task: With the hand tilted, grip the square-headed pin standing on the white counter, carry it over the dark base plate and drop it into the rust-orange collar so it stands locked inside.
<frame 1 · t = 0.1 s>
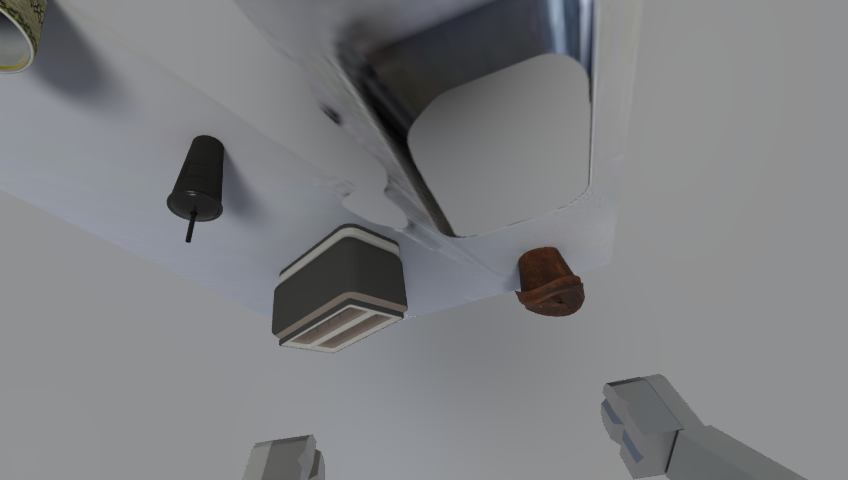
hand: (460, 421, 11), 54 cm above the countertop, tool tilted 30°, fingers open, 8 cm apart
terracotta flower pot: (537, 256, 122), on the countertop
toaster: (335, 261, 107), on the countertop
drinking cup: (208, 145, 69), on the countertop
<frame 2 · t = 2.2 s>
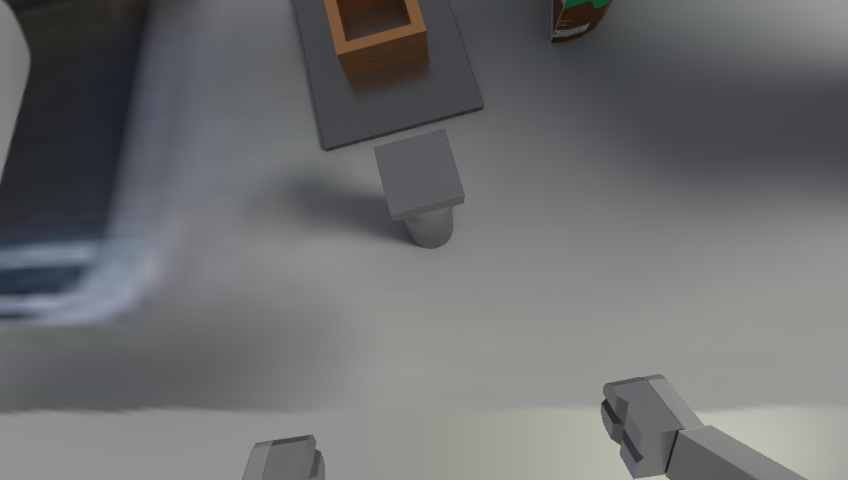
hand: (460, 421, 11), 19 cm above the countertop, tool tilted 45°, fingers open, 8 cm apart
square-headed pin: (430, 226, 32), on the countertop
grey base plate: (379, 36, 36), on the countertop
food container: (584, 1, 36), on the countertop
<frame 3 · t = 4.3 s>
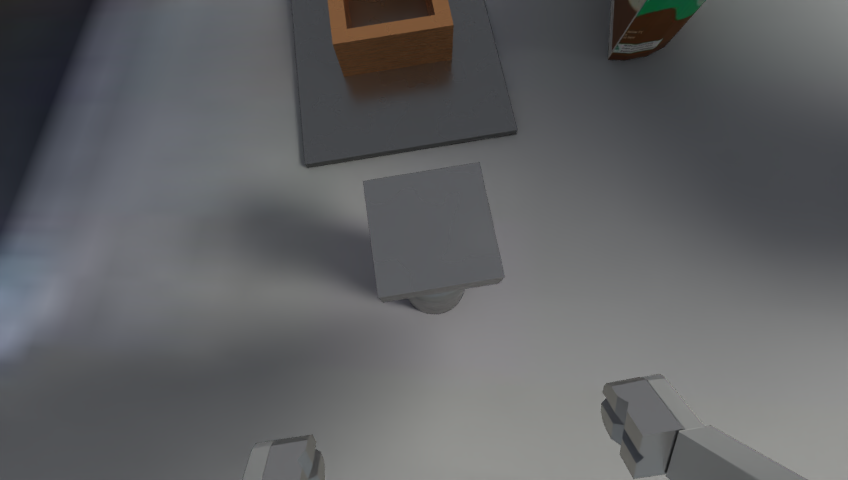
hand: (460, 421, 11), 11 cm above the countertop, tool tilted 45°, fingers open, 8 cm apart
square-headed pin: (434, 283, 23), on the countertop
grey base plate: (391, 30, 29), on the countertop
food container: (652, 13, 29), on the countertop
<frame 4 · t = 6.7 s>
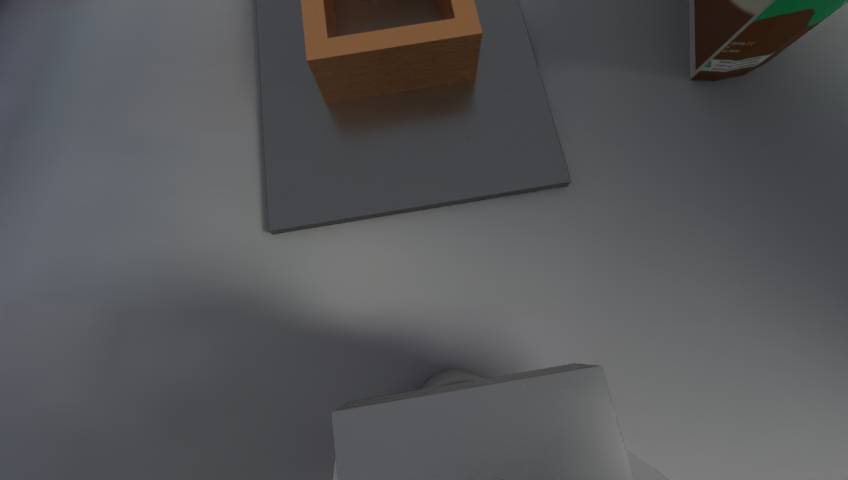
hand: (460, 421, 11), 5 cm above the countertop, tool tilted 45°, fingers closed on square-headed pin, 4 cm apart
square-headed pin: (455, 415, 16), on the countertop, touching gripper
grey base plate: (391, 38, 21), on the countertop
food container: (745, 16, 21), on the countertop
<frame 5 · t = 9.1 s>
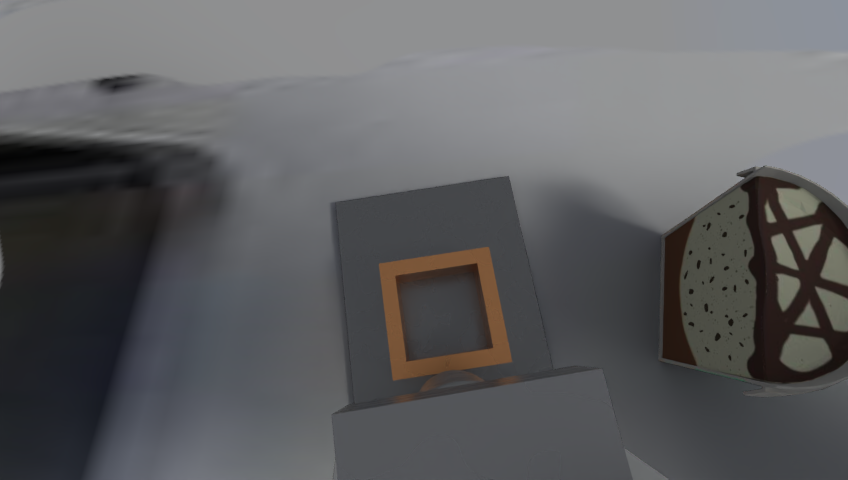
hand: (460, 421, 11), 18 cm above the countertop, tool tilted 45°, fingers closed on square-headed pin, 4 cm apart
square-headed pin: (456, 416, 16), point 12 cm above the countertop, touching gripper
grey base plate: (442, 315, 29), on the countertop
food container: (701, 303, 29), on the countertop
when the fingers open (8 cm above the countertop, at t = 11.9 s): square-headed pin drops 2 cm, resting on grey base plate.
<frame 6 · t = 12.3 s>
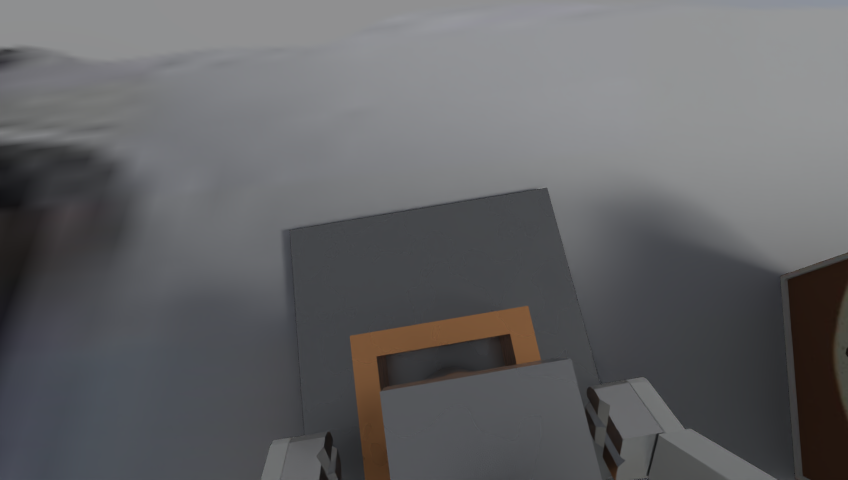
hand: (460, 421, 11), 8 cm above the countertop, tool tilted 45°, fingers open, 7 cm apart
square-headed pin: (454, 407, 18), point 1 cm above the countertop, touching grey base plate
grey base plate: (452, 405, 19), on the countertop
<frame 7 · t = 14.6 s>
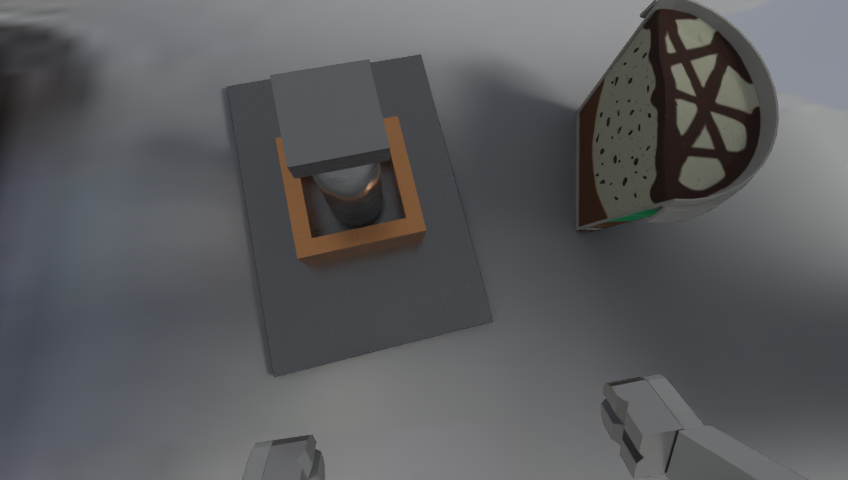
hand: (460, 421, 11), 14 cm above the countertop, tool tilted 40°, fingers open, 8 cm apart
square-headed pin: (356, 199, 26), resting on grey base plate
grey base plate: (355, 201, 27), on the countertop
food container: (614, 175, 29), on the countertop
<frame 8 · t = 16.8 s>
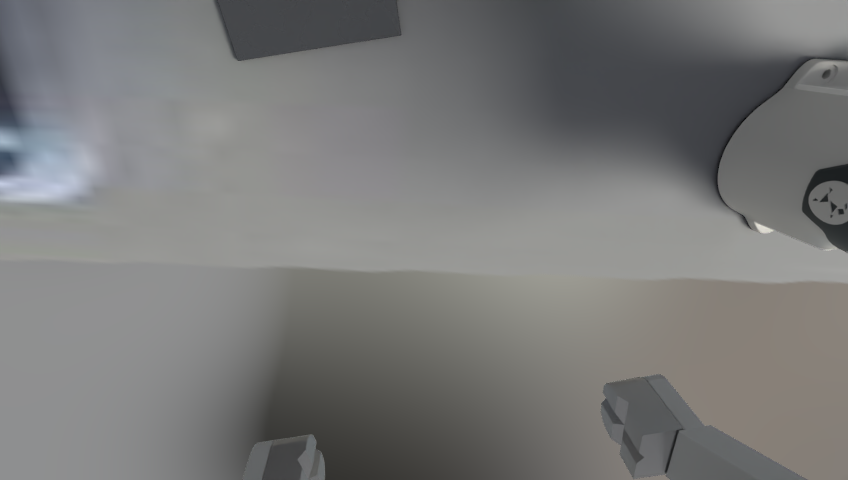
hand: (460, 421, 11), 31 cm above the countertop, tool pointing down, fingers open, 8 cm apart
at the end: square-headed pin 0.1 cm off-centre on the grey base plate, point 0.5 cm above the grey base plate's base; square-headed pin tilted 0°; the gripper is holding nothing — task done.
